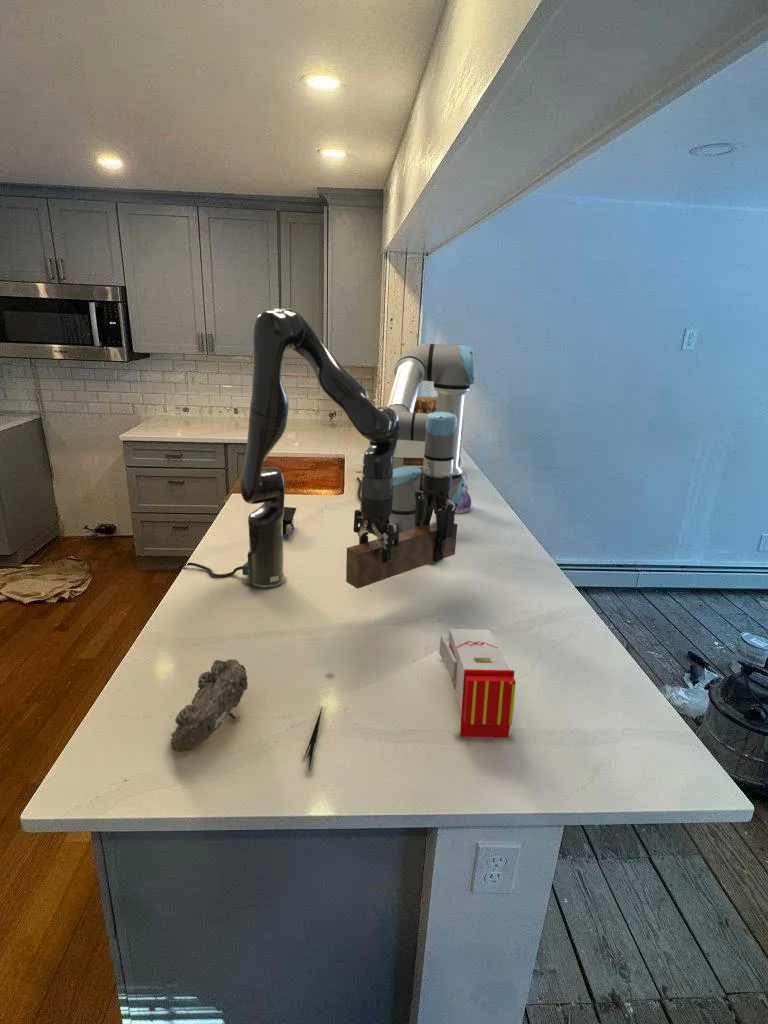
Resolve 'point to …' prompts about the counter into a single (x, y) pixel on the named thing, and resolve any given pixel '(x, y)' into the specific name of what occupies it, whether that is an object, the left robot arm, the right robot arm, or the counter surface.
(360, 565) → the walnut bar
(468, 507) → the figurine
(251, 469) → the left robot arm
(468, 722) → the toy
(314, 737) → the feather
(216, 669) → the fossil
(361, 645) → the counter surface
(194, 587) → the counter surface
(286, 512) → the figurine character
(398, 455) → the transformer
